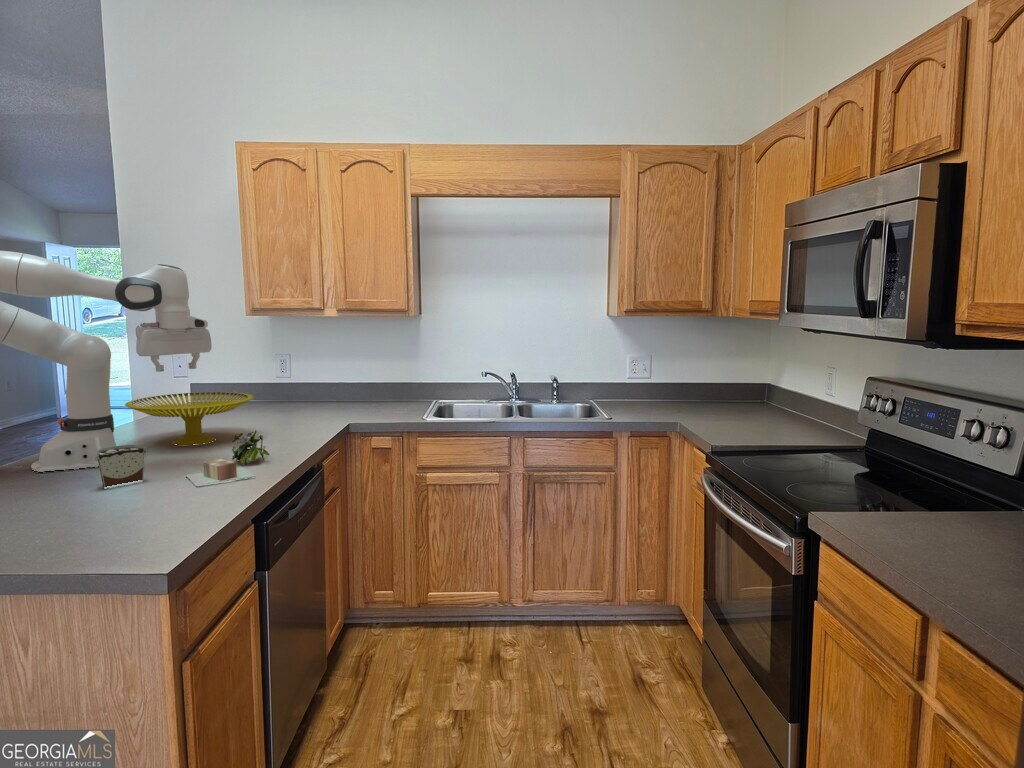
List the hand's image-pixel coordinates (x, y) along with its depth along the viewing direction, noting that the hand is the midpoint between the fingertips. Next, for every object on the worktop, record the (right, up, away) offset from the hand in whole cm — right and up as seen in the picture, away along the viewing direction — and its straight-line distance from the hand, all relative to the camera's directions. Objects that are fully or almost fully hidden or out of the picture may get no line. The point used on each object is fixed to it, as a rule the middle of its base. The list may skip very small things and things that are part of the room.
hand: (176, 370), depth 187 cm
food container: (-8, -31, -13) cm, 35 cm away
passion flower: (+17, -28, +12) cm, 35 cm away
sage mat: (+16, -30, -7) cm, 35 cm away
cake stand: (-14, -25, +39) cm, 49 cm away
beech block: (+13, -28, -6) cm, 31 cm away
